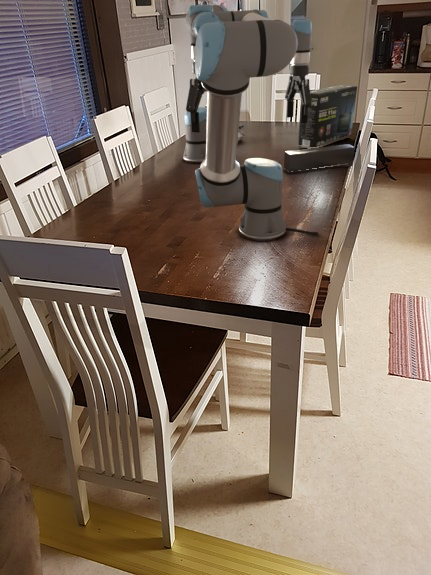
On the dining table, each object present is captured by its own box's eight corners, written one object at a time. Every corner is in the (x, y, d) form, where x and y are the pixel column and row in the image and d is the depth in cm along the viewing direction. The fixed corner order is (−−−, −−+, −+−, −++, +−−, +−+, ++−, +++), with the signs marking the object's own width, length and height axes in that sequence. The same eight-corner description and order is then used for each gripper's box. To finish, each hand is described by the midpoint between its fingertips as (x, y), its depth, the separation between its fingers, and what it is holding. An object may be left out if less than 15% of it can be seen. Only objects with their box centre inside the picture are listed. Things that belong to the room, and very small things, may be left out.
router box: (314, 151, 231) (318, 94, 217) (296, 148, 237) (299, 92, 224) (352, 138, 251) (358, 85, 238) (335, 135, 258) (340, 83, 245)
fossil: (235, 139, 243) (216, 121, 246) (225, 155, 249) (206, 138, 252) (251, 137, 256) (233, 120, 260) (241, 153, 263) (223, 137, 266)
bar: (346, 162, 213) (348, 144, 208) (352, 166, 208) (355, 147, 204) (283, 170, 206) (284, 151, 202) (289, 174, 201) (289, 154, 197)
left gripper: (278, 62, 191) (276, 115, 202) (304, 67, 171) (301, 126, 182) (294, 61, 193) (292, 114, 204) (323, 66, 172) (318, 125, 183)
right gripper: (212, 56, 160) (214, 120, 171) (171, 64, 141) (177, 134, 152) (231, 56, 156) (232, 121, 167) (192, 64, 138) (196, 136, 149)
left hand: (296, 120), depth 193 cm, fingers open, 13 cm apart
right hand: (206, 128), depth 160 cm, fingers open, 13 cm apart
